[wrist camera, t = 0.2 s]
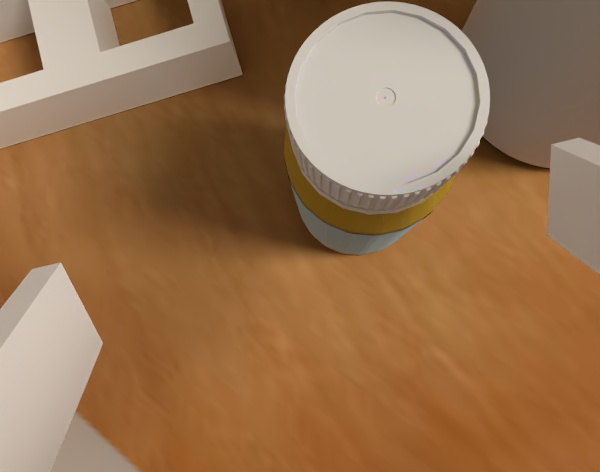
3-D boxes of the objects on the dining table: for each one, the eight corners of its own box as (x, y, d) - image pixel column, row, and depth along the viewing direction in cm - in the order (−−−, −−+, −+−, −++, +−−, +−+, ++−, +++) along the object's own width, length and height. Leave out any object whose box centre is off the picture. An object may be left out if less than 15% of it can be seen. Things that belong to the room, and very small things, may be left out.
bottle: (281, 229, 29) (232, 156, 14) (325, 128, 29) (324, -44, 15) (386, 274, 28) (454, 249, 13) (430, 170, 29) (541, 34, 14)
